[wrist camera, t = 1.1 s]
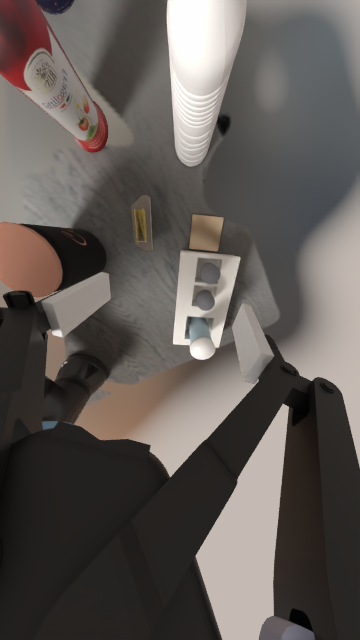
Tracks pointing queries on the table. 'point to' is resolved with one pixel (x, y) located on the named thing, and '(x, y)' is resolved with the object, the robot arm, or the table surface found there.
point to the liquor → (47, 73)
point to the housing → (194, 283)
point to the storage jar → (54, 5)
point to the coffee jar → (47, 257)
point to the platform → (142, 222)
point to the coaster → (205, 232)
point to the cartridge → (200, 338)
